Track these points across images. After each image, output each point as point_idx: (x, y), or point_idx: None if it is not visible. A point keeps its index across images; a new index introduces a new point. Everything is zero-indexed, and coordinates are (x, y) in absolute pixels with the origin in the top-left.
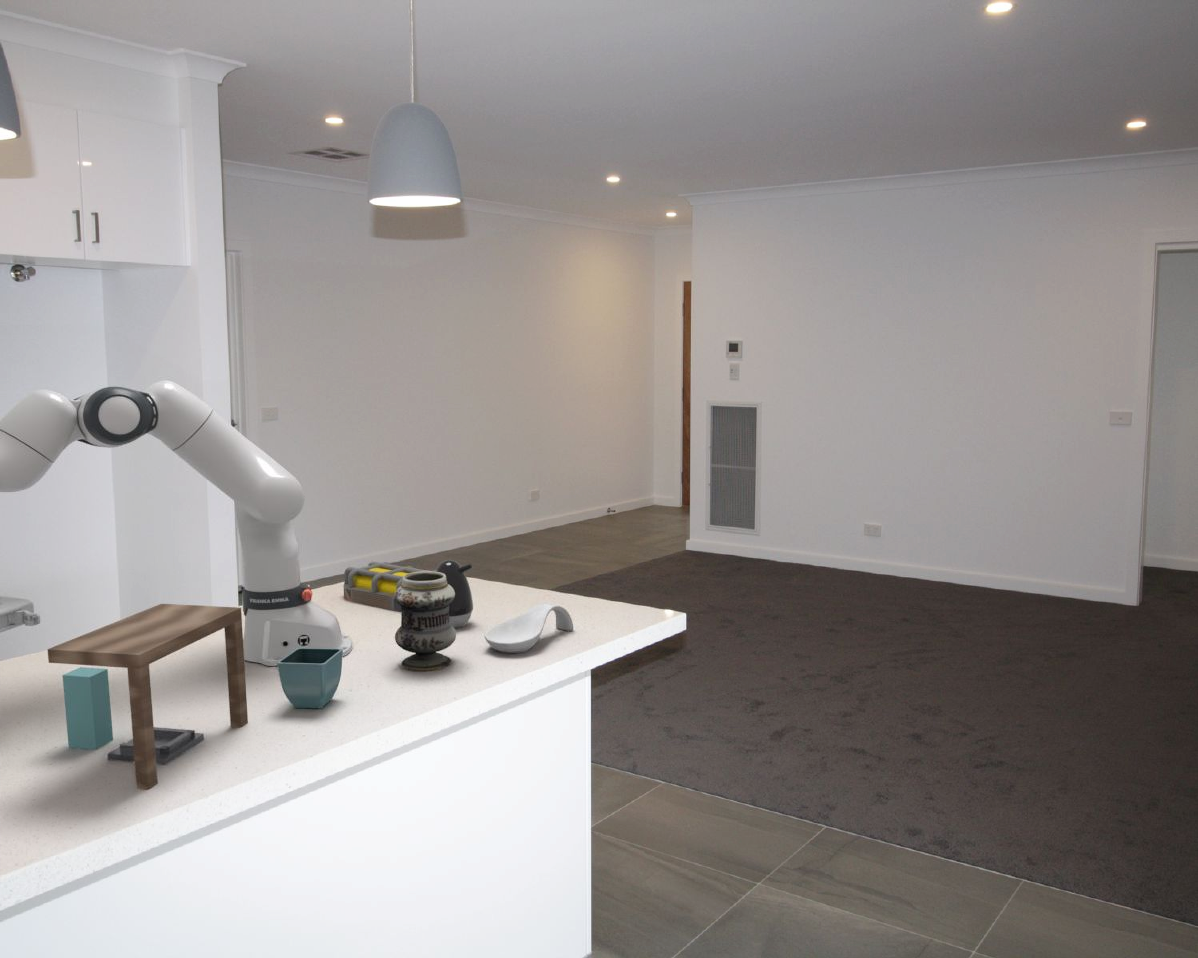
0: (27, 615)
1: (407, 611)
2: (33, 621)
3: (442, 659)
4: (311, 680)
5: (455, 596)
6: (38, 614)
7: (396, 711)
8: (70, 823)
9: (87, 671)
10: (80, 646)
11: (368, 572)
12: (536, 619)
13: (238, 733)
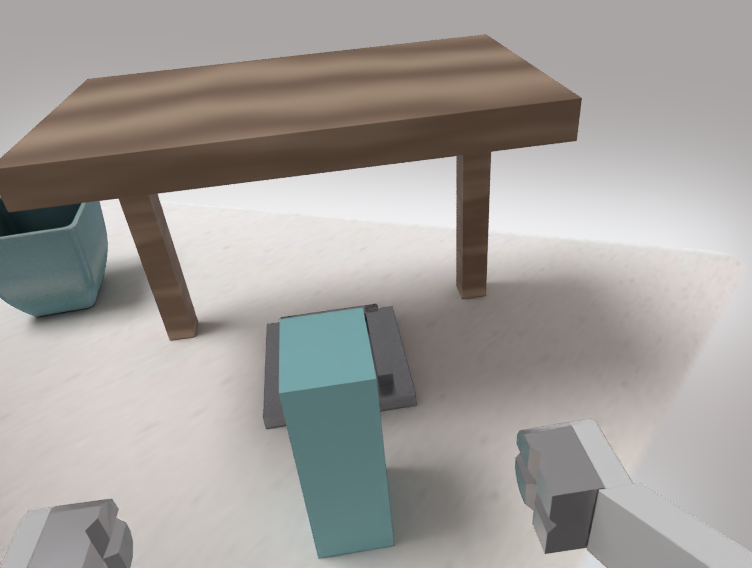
0: (85, 546)
1: None
2: (118, 524)
3: None
4: (99, 225)
5: None
6: (35, 510)
7: (120, 216)
8: (625, 288)
9: (317, 345)
10: (510, 81)
11: None
12: None
13: (230, 310)
